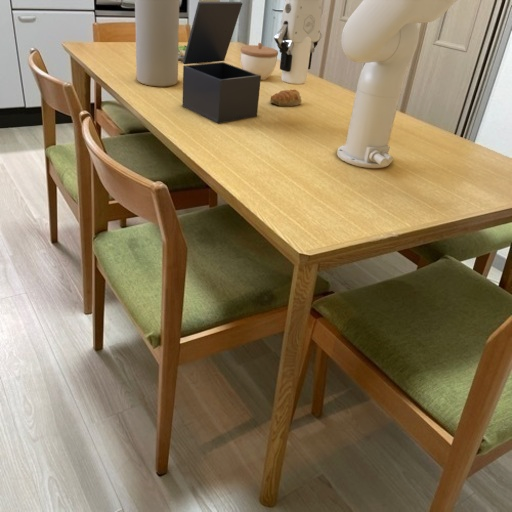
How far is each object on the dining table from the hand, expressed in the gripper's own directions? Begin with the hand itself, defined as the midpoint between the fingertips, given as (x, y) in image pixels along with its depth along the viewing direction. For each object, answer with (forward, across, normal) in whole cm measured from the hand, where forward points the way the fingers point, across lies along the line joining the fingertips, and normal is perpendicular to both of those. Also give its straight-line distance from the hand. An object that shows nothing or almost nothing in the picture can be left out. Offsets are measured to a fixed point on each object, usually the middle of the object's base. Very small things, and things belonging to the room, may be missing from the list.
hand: (295, 68), depth 131 cm
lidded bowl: (+13, +26, +42) cm, 51 cm away
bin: (+14, -10, +16) cm, 24 cm away
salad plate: (+12, +22, +73) cm, 77 cm away
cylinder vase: (+13, -9, +48) cm, 51 cm away
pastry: (+14, +13, +14) cm, 24 cm away
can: (+3, 0, 0) cm, 3 cm away
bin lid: (-5, -10, +21) cm, 24 cm away
